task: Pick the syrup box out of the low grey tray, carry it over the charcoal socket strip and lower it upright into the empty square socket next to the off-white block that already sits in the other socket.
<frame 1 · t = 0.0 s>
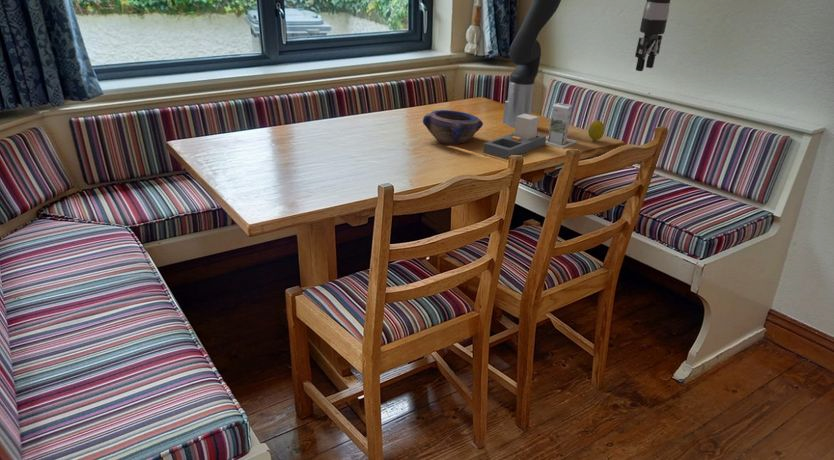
hand: (644, 69, 201), 29 cm above the table, tool pointing down, fingers open, 8 cm apart
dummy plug: (523, 144, 215), point 1 cm above the table, touching socket strip
socket strip: (514, 150, 211), on the table
tray: (556, 144, 220), on the table
lemon: (594, 141, 227), on the table
syrup box: (556, 145, 220), resting in tray
bowl: (452, 142, 218), on the table
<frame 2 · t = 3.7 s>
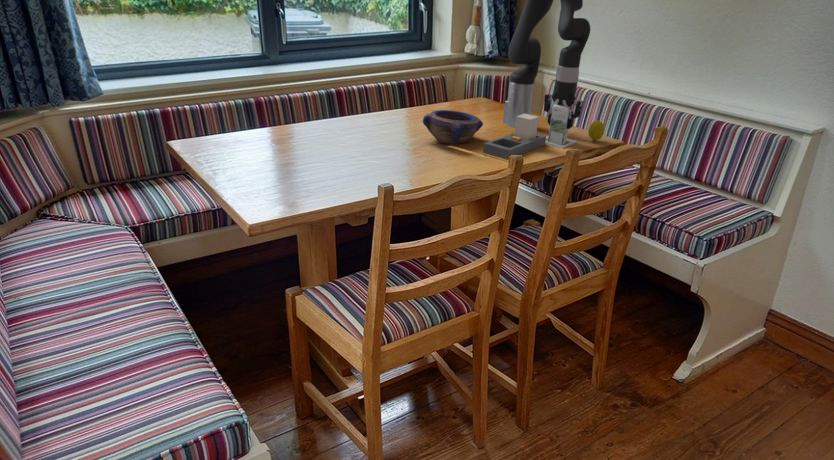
hand: (559, 126, 217), 7 cm above the table, tool pointing down, fingers closed on syrup box, 6 cm apart
syrup box: (556, 145, 220), resting in tray, touching gripper
everything else where it was.
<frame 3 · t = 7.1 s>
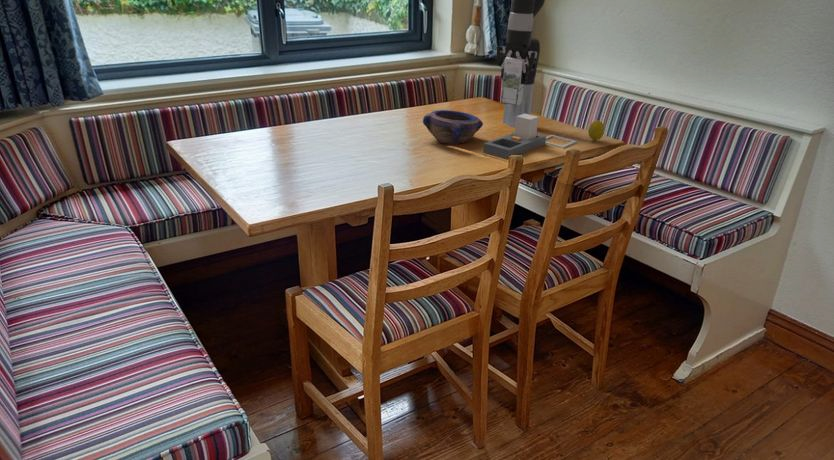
hand: (513, 82, 197), 24 cm above the table, tool pointing down, fingers closed on syrup box, 6 cm apart
syrup box: (511, 103, 200), point 17 cm above the table, touching gripper
everything else where it was.
when the fingers open (9 cm above the table, at t = 10.5 s): syrup box stays where it is, resting on socket strip.
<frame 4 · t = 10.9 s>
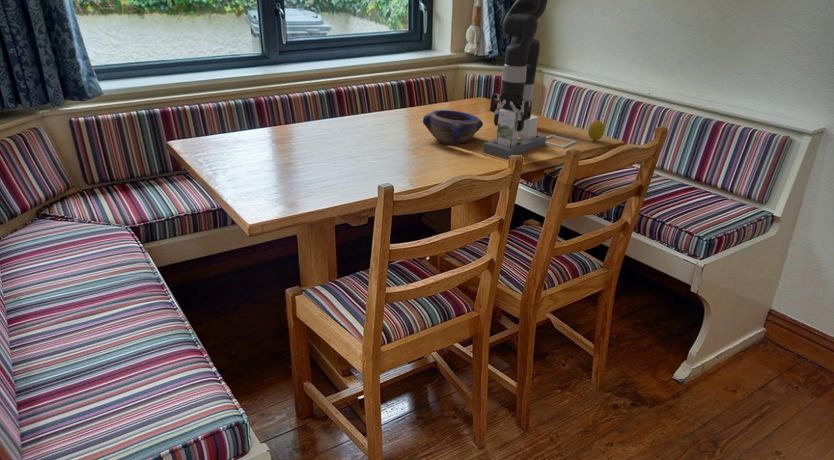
hand: (508, 128, 203), 9 cm above the table, tool pointing down, fingers open, 8 cm apart
syrup box: (505, 152, 207), point 1 cm above the table, touching socket strip
everything else where it was.
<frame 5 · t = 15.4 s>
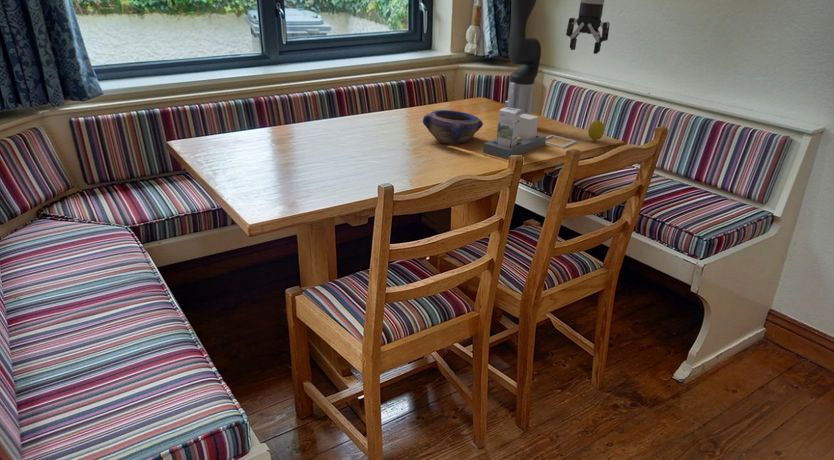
hand: (584, 51, 211), 32 cm above the table, tool pointing down, fingers open, 8 cm apart
nothing on the table moved.
at the end: syrup box 0.1 cm from the target spot on the socket strip, point 0.8 cm above the socket strip's base; syrup box tilted 0°; the gripper is holding nothing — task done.
